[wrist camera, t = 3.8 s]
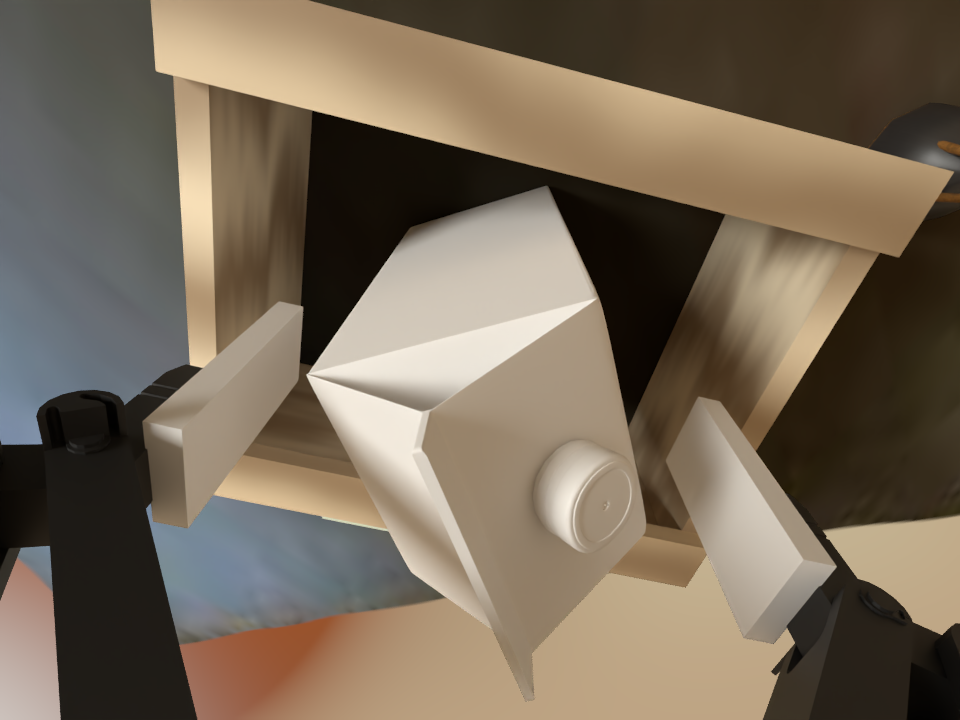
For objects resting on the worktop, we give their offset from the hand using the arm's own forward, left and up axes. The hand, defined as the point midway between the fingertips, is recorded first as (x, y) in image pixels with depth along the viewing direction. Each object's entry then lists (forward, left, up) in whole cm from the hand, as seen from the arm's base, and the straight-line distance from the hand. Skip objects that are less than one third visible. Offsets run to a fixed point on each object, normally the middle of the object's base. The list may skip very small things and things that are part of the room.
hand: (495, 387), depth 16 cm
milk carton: (0, 0, -11) cm, 11 cm away
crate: (0, 0, -11) cm, 11 cm away
